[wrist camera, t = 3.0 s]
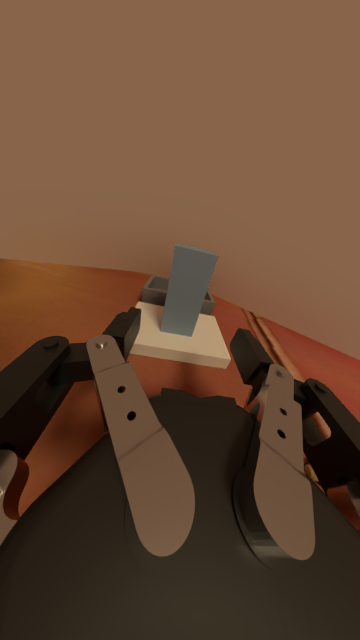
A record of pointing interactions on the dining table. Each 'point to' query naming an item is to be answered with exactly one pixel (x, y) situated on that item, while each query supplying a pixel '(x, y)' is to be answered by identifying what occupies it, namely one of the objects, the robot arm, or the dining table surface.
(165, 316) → the tile block
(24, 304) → the dining table surface
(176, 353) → the bench board
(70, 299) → the dining table surface
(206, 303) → the tray
